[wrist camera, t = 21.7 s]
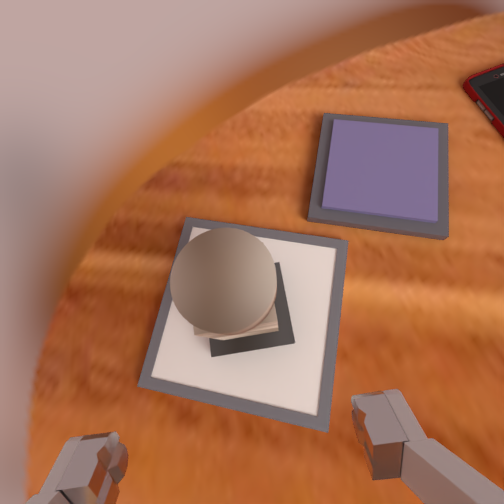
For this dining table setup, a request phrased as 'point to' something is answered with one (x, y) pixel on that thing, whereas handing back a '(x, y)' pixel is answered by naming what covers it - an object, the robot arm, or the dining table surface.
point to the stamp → (231, 292)
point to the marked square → (269, 359)
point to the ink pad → (382, 175)
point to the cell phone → (489, 94)
